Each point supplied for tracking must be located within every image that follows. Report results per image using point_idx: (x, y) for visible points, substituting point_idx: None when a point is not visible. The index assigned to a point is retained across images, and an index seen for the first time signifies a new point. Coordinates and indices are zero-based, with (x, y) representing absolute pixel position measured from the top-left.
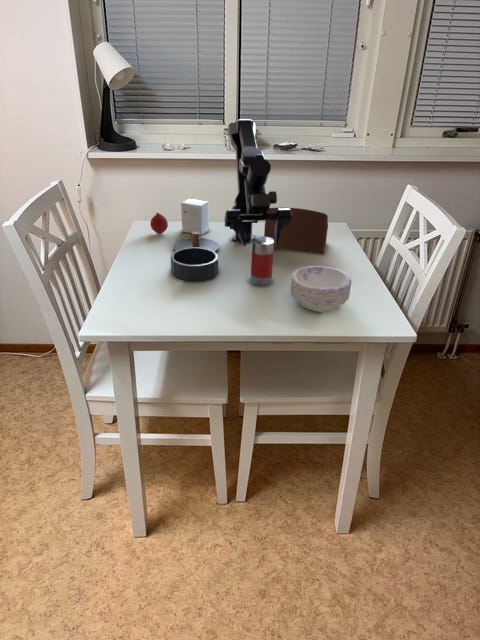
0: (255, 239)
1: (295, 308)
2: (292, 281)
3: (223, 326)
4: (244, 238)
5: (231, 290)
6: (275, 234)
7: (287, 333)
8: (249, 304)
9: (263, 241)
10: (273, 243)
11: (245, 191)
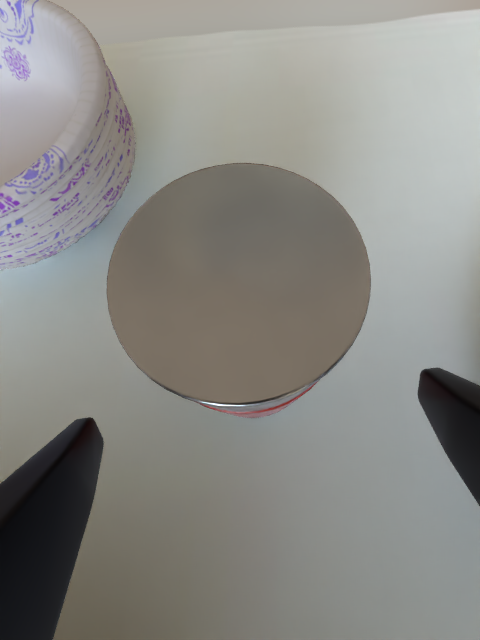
0: (331, 292)
1: (138, 159)
2: (109, 92)
3: (379, 49)
4: (476, 404)
5: (387, 271)
6: (39, 592)
7: (189, 39)
8: (303, 171)
9: (234, 236)
10: (128, 234)
11: None
